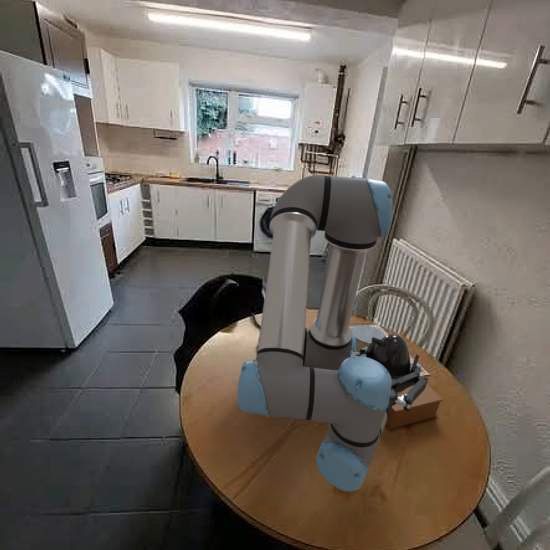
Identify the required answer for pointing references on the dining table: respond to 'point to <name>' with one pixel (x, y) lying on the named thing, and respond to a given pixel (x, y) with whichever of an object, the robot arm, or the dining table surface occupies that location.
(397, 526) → the dining table surface
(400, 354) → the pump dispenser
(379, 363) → the robot arm
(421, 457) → the dining table surface
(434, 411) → the takeaway box
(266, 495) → the dining table surface
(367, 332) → the canned food
